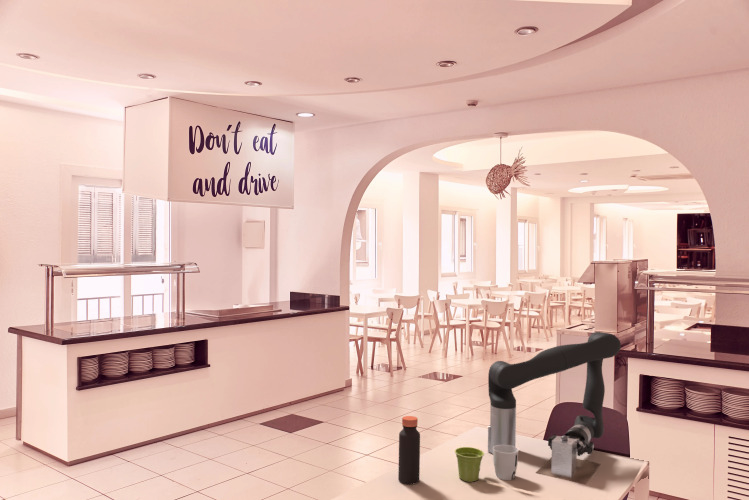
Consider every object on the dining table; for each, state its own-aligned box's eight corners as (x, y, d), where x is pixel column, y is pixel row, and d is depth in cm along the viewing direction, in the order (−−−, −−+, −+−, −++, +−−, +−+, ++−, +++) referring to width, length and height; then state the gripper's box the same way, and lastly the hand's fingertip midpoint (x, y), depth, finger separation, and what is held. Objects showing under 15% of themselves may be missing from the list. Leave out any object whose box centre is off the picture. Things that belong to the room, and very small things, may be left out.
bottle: (413, 486, 178) (414, 422, 178) (394, 481, 181) (395, 418, 181) (423, 479, 183) (424, 417, 184) (404, 474, 187) (405, 413, 187)
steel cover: (551, 474, 187) (551, 437, 187) (556, 468, 192) (557, 432, 192) (571, 478, 184) (571, 440, 184) (576, 472, 189) (576, 435, 189)
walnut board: (535, 475, 188) (535, 472, 188) (554, 456, 206) (554, 454, 206) (585, 487, 179) (585, 484, 179) (600, 466, 198) (600, 463, 198)
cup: (518, 485, 180) (519, 454, 180) (492, 483, 181) (492, 451, 181) (517, 476, 188) (517, 445, 188) (492, 473, 189) (492, 443, 189)
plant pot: (484, 474, 188) (484, 448, 189) (483, 485, 179) (483, 458, 179) (455, 471, 191) (456, 445, 191) (453, 482, 181) (453, 455, 181)
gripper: (557, 423, 206) (543, 434, 193) (598, 430, 198) (587, 443, 185) (557, 444, 206) (543, 456, 193) (598, 452, 198) (587, 466, 185)
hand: (565, 450), depth 189 cm, fingers open, 8 cm apart
